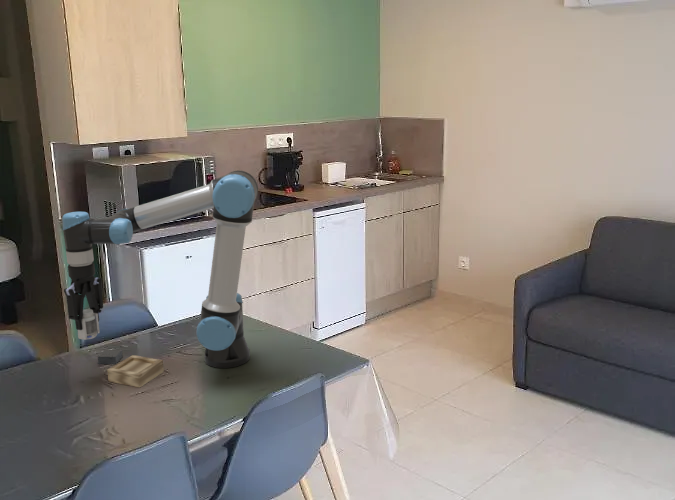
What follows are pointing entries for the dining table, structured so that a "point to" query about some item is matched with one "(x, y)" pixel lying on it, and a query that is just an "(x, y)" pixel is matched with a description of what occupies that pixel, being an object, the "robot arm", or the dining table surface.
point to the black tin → (110, 357)
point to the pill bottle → (90, 323)
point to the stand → (135, 371)
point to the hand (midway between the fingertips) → (89, 335)
